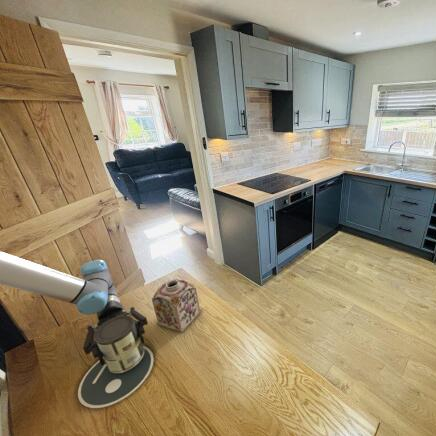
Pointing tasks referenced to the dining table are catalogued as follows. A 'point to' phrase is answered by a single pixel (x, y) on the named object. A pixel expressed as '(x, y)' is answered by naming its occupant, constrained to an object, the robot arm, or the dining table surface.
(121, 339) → the coffee can
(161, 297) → the decorative jar
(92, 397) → the board
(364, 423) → the dining table surface
